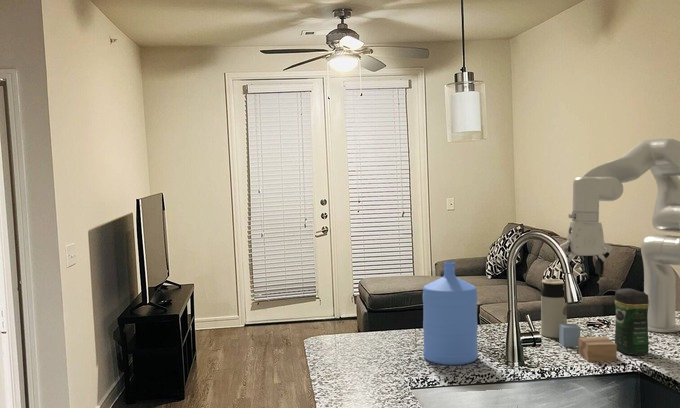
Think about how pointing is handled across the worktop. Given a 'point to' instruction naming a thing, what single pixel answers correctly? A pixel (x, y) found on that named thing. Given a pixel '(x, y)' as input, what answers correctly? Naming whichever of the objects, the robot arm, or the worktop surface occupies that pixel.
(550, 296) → the travel mug
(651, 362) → the worktop surface
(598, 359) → the walnut block
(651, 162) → the robot arm
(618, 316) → the coffee jar
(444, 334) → the water jug
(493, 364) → the worktop surface
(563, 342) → the blue block
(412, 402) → the worktop surface
